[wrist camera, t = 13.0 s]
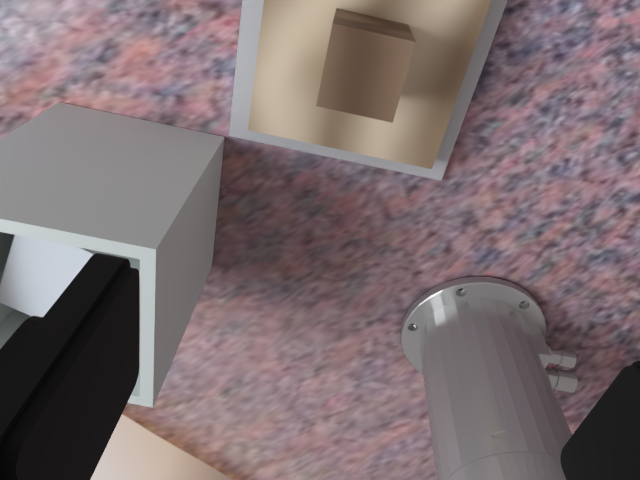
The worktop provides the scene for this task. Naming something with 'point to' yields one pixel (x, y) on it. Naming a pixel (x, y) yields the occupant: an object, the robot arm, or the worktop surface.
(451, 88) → the lid
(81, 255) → the supplement box
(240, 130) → the mat
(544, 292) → the worktop surface
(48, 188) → the box
